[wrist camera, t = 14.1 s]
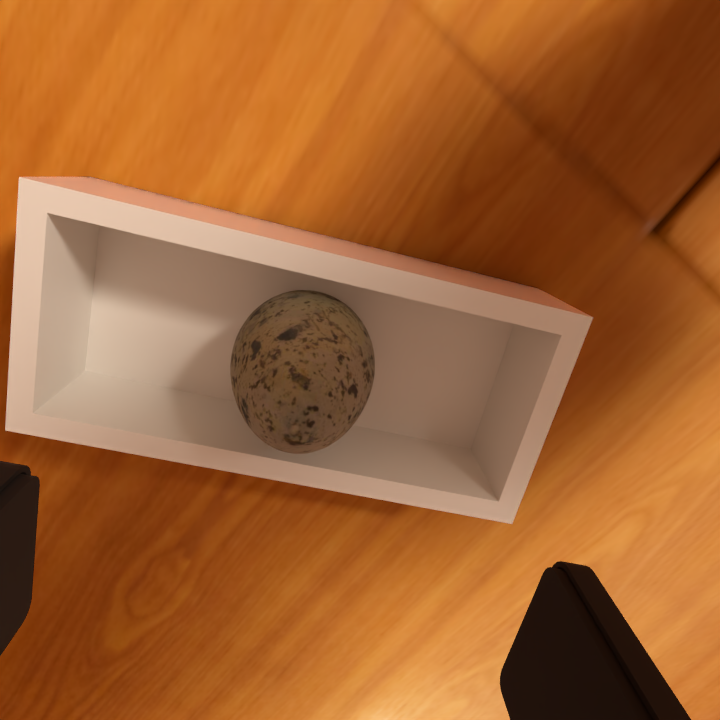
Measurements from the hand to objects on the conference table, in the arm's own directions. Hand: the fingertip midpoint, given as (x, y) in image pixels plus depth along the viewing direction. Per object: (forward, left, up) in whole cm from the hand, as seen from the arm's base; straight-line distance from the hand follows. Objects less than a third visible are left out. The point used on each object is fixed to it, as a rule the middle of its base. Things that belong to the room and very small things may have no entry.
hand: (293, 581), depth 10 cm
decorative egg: (0, +1, -18) cm, 18 cm away
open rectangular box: (0, +1, -19) cm, 19 cm away
